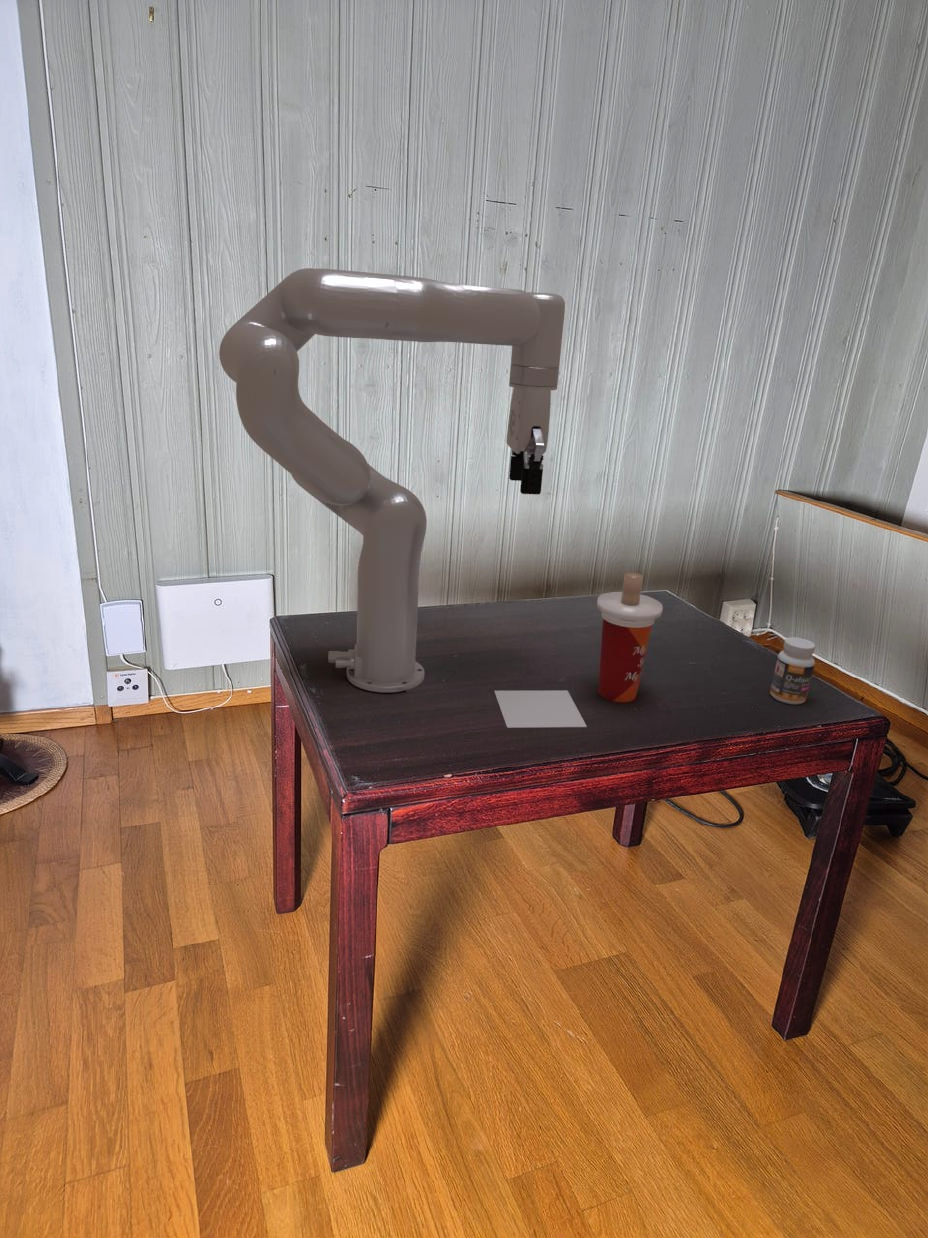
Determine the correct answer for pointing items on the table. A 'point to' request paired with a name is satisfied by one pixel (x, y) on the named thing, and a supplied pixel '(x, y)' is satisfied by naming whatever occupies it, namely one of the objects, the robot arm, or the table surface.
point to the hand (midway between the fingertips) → (524, 486)
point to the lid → (630, 601)
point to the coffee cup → (622, 657)
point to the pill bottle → (793, 671)
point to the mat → (539, 709)
